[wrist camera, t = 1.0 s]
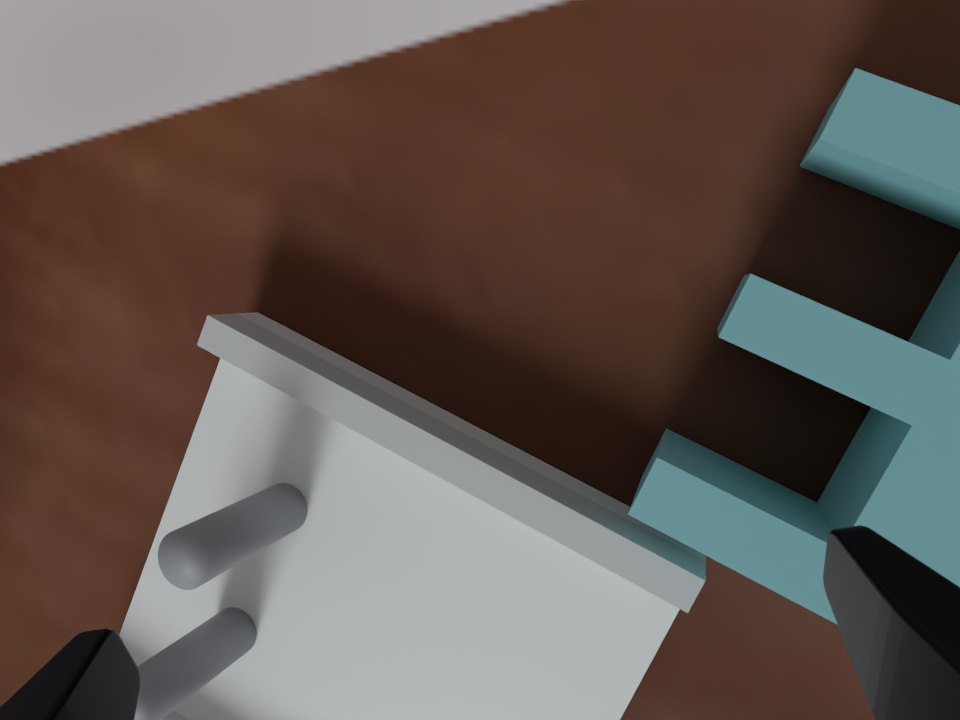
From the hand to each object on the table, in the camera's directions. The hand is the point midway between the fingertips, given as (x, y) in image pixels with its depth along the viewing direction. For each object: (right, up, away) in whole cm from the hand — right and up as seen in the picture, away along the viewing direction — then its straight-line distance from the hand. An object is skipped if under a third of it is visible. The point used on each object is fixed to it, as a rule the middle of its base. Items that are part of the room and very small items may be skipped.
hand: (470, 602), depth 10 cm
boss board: (-3, -6, +16) cm, 17 cm away
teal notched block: (+10, +3, +11) cm, 15 cm away
